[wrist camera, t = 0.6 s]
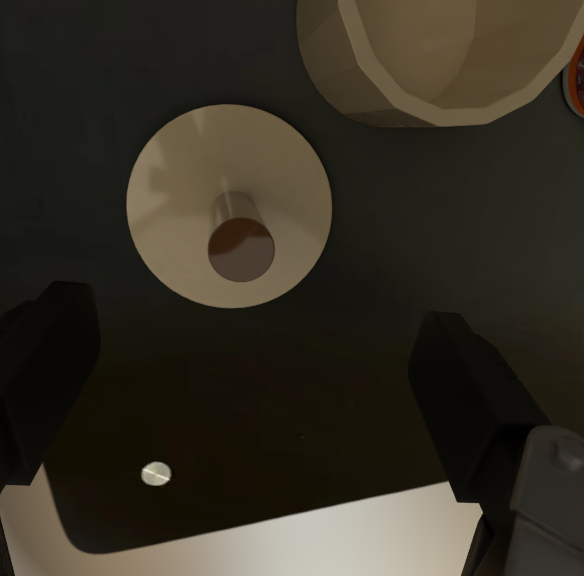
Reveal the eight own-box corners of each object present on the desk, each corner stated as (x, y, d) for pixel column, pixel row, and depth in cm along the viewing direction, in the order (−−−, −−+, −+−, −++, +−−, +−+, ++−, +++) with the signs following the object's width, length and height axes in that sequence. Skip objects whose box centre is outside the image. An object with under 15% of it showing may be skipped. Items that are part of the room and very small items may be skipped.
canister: (254, 24, 23) (275, -30, 15) (397, -159, 21) (505, -329, 13) (387, 165, 27) (458, 180, 19) (516, 20, 25) (655, -30, 17)
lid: (87, 222, 25) (22, 271, 16) (217, 55, 23) (219, 13, 14) (245, 334, 29) (257, 418, 21) (365, 200, 27) (433, 233, 19)
